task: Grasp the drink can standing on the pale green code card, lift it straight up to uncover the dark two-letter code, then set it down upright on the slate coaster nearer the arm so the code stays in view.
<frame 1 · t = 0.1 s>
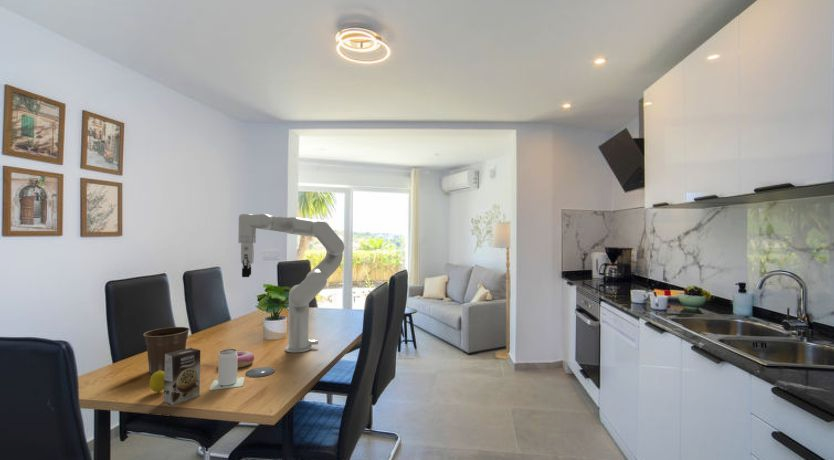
hand: (246, 276, 185), 37 cm above the table, tool pointing down, fingers open, 9 cm apart
lemon: (158, 393, 139), on the table
donut: (237, 365, 169), on the table
plant pot: (166, 370, 162), on the table
code card: (227, 383, 148), on the table
coaster: (260, 372, 160), on the table
can: (227, 383, 148), resting on code card
coffee box: (182, 399, 134), on the table
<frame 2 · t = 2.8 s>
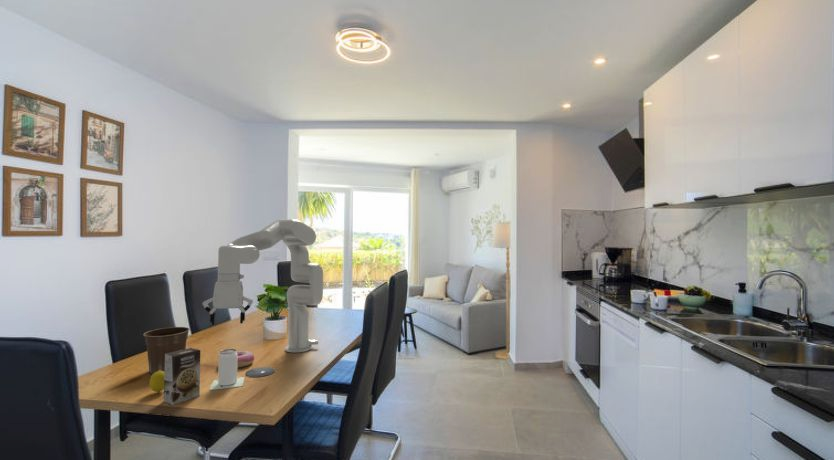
hand: (227, 323, 148), 23 cm above the table, tool pointing down, fingers open, 9 cm apart
nothing on the table moved.
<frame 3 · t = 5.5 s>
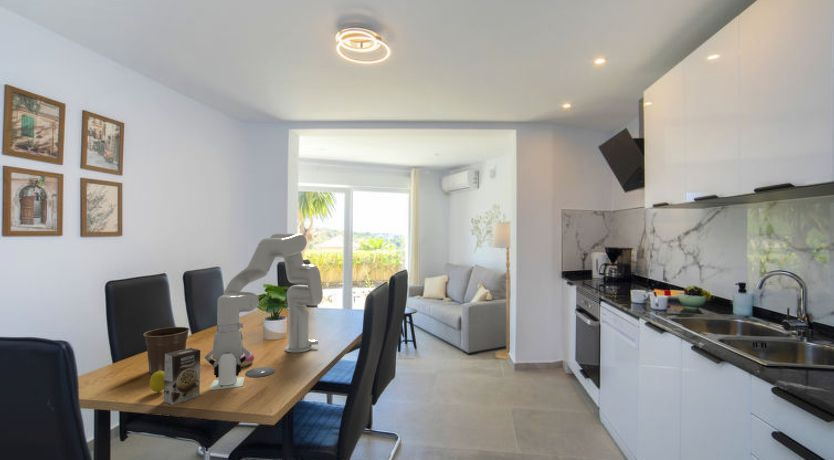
hand: (227, 375, 148), 3 cm above the table, tool pointing down, fingers closed on can, 6 cm apart
can: (227, 383, 148), resting on code card, touching gripper
everything else where it was.
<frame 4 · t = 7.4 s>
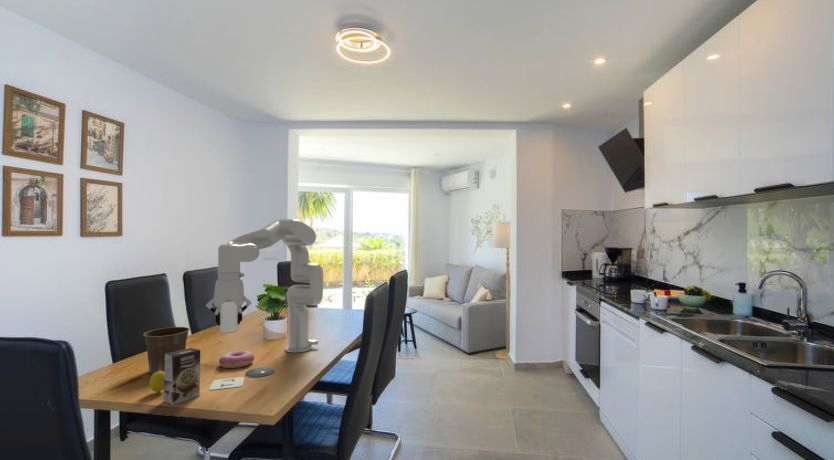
hand: (229, 323, 149), 23 cm above the table, tool pointing down, fingers closed on can, 6 cm apart
can: (229, 331, 149), point 19 cm above the table, touching gripper
everything else where it was.
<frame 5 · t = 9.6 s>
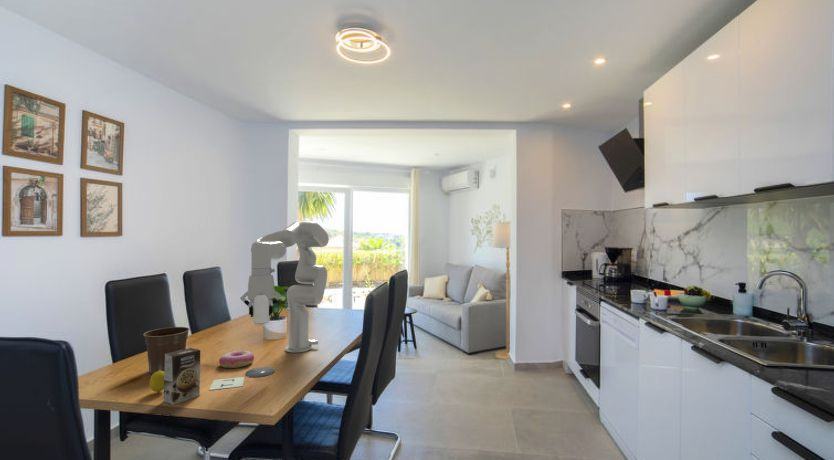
hand: (261, 315, 160), 23 cm above the table, tool pointing down, fingers closed on can, 6 cm apart
can: (261, 323, 160), point 20 cm above the table, touching gripper
everything else where it was.
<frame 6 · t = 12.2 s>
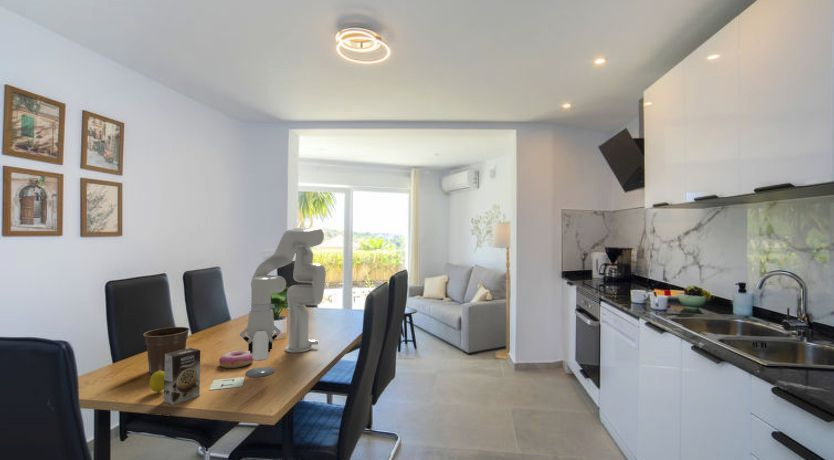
hand: (260, 351, 160), 9 cm above the table, tool pointing down, fingers closed on can, 6 cm apart
can: (260, 359, 160), point 6 cm above the table, touching gripper
everything else where it was.
when the fingers open (4 cm above the table, at t = 14.1 s): can drops 1 cm, resting on coaster.
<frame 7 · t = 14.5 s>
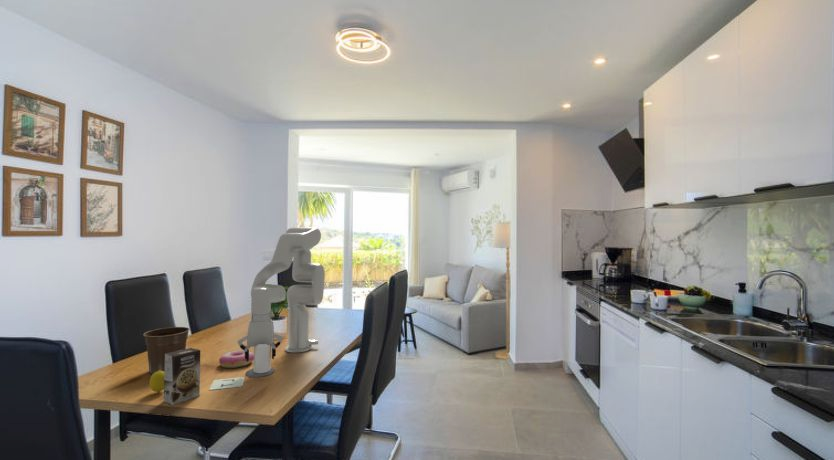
hand: (260, 359, 160), 5 cm above the table, tool pointing down, fingers open, 9 cm apart
can: (262, 371, 160), resting on coaster
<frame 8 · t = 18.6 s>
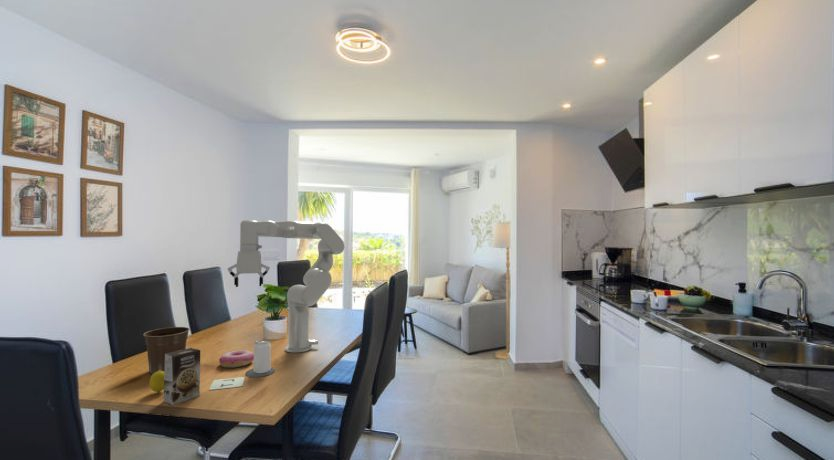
hand: (248, 286, 175), 33 cm above the table, tool pointing down, fingers open, 9 cm apart
at the end: can 0.7 cm from the coaster (horizontally); can tilted 0°; can moved 14.8 cm from its start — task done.
